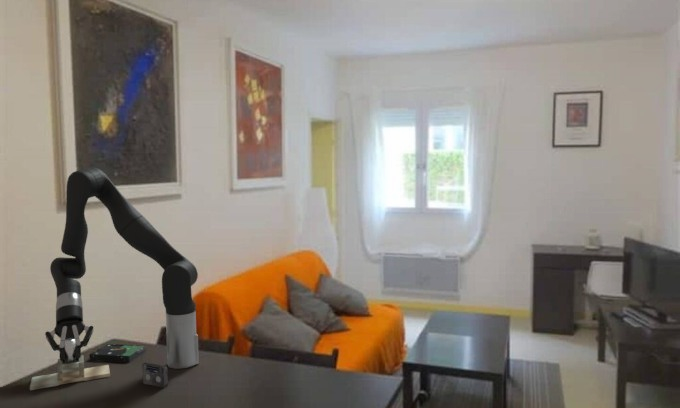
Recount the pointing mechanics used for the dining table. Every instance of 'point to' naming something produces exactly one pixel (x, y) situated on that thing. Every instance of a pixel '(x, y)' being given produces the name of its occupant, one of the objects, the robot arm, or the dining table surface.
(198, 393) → the dining table surface
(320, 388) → the dining table surface
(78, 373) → the hinge leaves
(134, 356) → the disk drive
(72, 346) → the hinge pin
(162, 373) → the mini dv tape
